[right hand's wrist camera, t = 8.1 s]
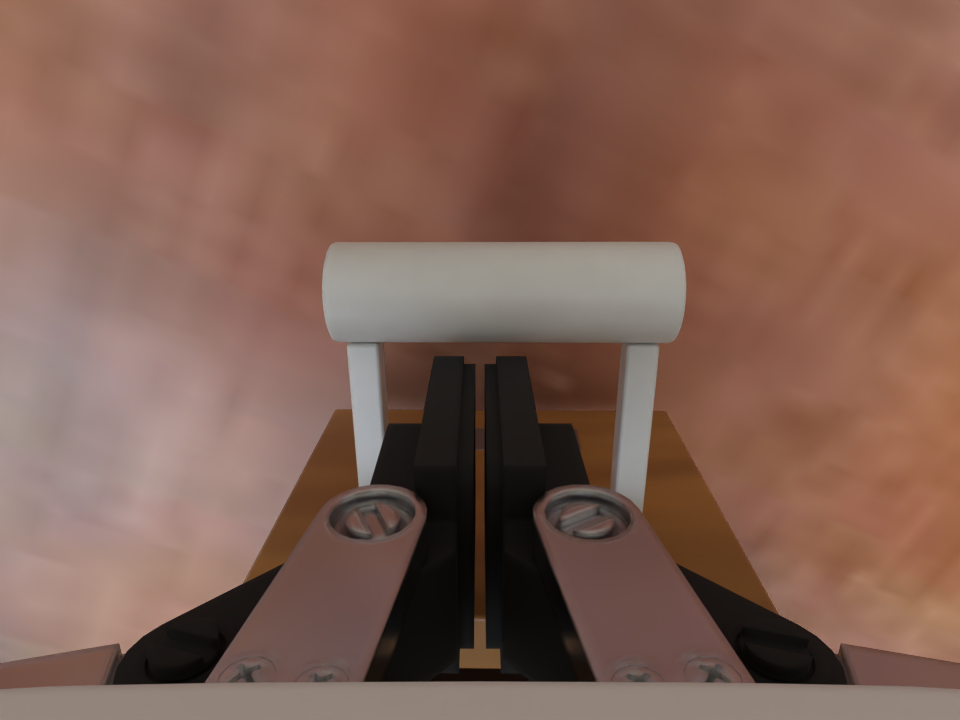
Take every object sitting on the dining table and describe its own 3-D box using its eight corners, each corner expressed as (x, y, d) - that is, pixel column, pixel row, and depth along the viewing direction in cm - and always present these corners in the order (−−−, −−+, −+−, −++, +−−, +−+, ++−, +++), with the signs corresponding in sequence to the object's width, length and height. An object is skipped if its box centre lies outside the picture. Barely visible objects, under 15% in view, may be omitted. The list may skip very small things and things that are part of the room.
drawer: (315, 201, 16) (161, 281, 9) (689, 200, 16) (857, 281, 9) (367, 747, 24) (307, 1048, 16) (628, 752, 23) (691, 1059, 16)
